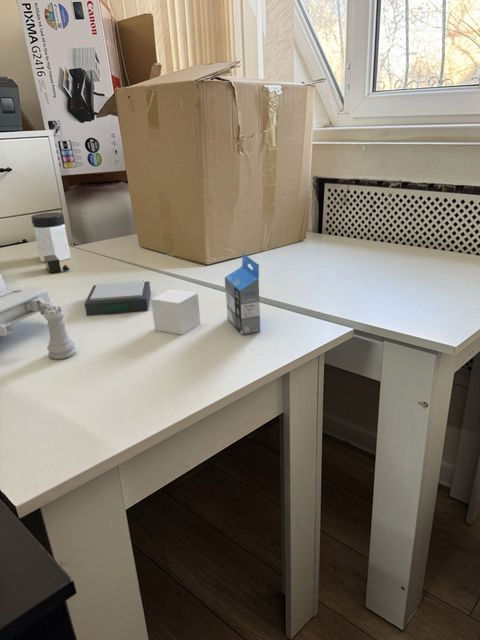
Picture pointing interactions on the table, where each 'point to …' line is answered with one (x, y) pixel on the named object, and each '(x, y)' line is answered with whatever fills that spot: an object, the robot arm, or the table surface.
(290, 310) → the table surface
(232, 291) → the ink cartridge box
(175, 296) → the white cube
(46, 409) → the table surface
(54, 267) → the wireless earbuds
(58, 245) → the jar
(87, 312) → the scale
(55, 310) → the rook chess piece
